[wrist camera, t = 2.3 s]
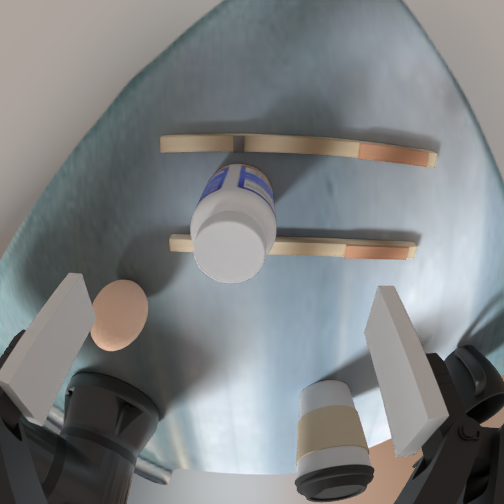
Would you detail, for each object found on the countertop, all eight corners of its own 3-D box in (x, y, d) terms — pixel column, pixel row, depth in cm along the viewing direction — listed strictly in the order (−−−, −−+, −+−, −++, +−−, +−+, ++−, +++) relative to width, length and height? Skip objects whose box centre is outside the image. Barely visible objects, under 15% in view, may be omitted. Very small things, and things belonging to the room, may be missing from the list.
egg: (167, 294, 31) (144, 355, 24) (134, 315, 33) (109, 372, 26) (129, 256, 29) (95, 313, 22) (99, 282, 31) (65, 336, 24)
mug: (481, 310, 32) (516, 365, 24) (482, 360, 37) (506, 409, 29) (426, 340, 34) (453, 401, 26) (436, 385, 39) (455, 437, 31)
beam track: (173, 245, 29) (169, 253, 28) (163, 135, 24) (158, 138, 23) (410, 252, 28) (415, 260, 27) (432, 150, 23) (439, 154, 22)
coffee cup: (371, 382, 38) (394, 483, 25) (334, 416, 42) (345, 507, 29) (312, 368, 36) (324, 484, 24) (279, 405, 41) (280, 505, 28)
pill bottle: (212, 226, 28) (190, 297, 19) (201, 165, 25) (169, 215, 17) (276, 221, 27) (281, 292, 19) (270, 158, 24) (274, 204, 16)
